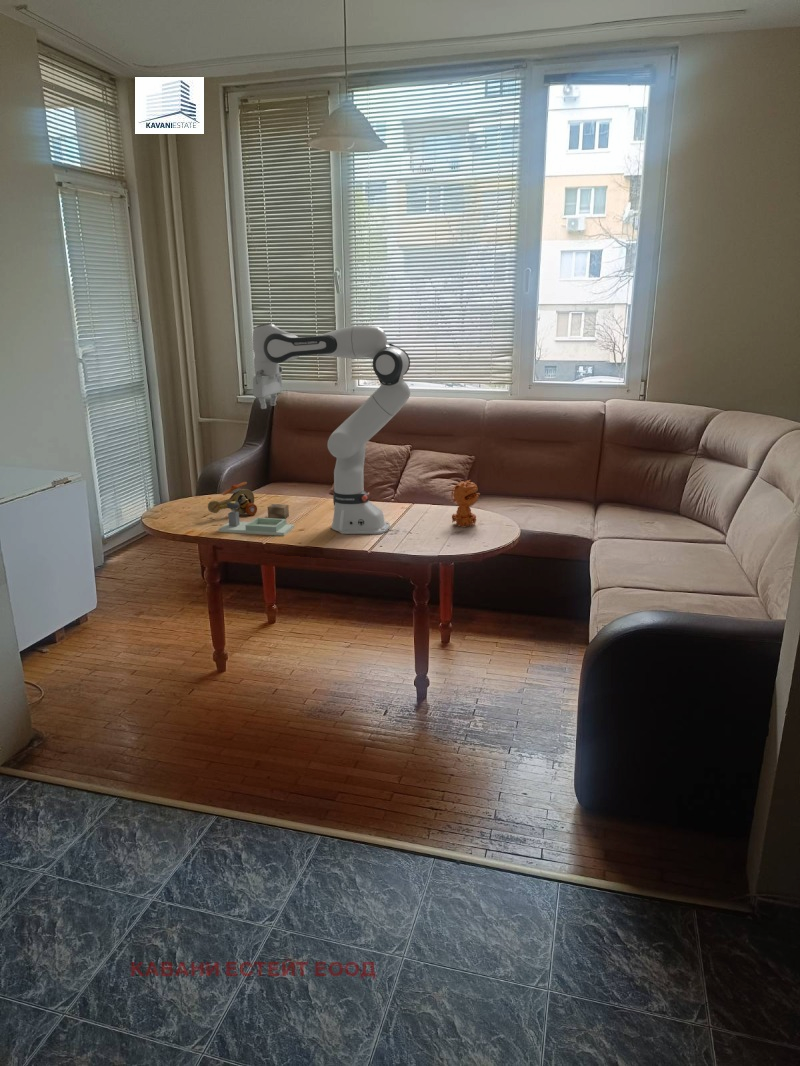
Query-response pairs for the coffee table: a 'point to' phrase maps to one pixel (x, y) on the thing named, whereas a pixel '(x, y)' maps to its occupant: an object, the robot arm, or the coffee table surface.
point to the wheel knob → (233, 506)
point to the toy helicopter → (244, 504)
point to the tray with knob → (256, 526)
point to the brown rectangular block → (278, 511)
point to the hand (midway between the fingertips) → (268, 407)
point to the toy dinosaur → (464, 502)
